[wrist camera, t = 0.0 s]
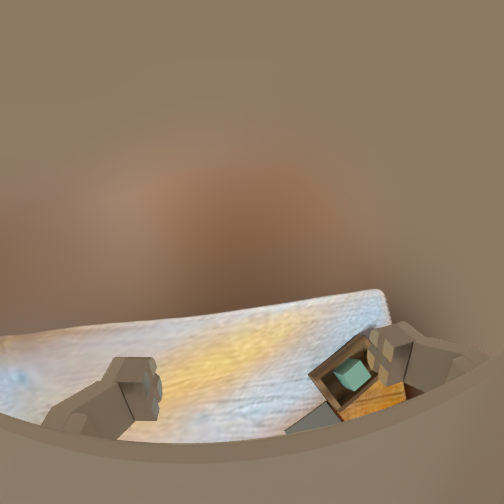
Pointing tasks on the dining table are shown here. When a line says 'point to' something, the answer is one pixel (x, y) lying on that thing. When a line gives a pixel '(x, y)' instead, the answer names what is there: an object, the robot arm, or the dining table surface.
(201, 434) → the dining table surface
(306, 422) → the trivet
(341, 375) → the block
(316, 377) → the crate
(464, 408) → the robot arm
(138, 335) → the dining table surface
